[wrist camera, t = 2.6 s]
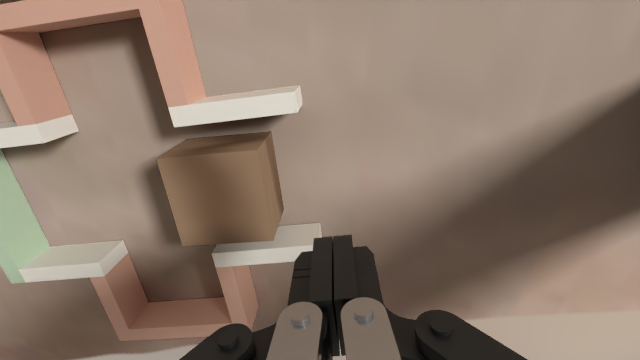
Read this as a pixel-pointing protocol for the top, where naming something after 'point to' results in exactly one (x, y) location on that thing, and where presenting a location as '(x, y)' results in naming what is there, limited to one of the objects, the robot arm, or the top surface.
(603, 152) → the top surface
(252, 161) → the walnut block
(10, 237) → the corral
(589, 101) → the top surface
